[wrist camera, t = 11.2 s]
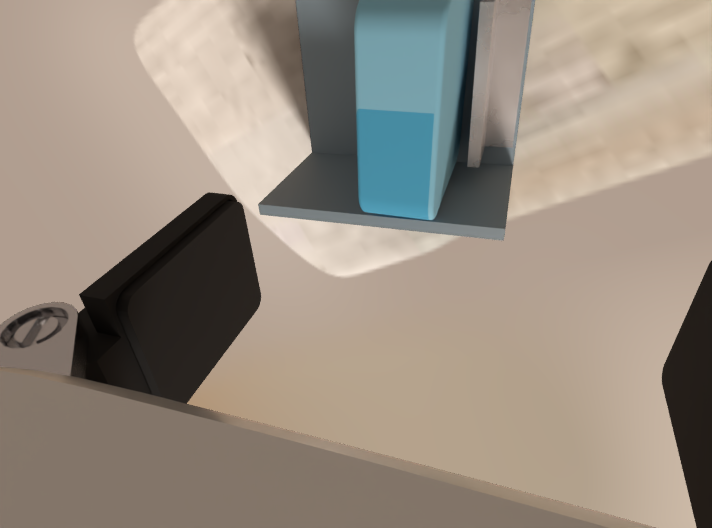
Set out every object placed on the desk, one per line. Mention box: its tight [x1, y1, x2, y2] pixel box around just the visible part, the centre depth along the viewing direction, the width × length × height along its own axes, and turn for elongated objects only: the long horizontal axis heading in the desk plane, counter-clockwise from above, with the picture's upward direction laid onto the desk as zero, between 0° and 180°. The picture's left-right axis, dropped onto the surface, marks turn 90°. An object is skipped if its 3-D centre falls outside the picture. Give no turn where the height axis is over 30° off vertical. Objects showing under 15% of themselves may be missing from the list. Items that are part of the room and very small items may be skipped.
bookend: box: [467, 0, 532, 168], centre depth 32 cm, size 3×10×4 cm, turn 4°
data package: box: [354, 0, 474, 220], centre depth 30 cm, size 12×4×12 cm, turn 2°
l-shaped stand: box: [258, 0, 535, 240], centre depth 32 cm, size 16×14×12 cm
